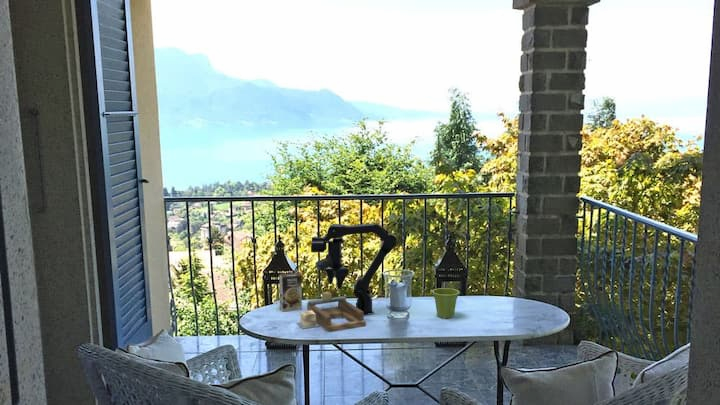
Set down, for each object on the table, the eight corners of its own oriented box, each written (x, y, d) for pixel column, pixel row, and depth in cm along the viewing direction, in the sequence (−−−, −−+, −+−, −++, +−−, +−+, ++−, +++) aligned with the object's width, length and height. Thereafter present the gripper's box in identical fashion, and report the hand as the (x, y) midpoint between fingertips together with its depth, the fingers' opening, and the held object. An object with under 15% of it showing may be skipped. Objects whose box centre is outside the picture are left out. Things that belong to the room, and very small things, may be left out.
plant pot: (457, 312, 266) (458, 288, 265) (459, 320, 254) (460, 295, 253) (431, 311, 267) (431, 287, 266) (432, 319, 256) (432, 294, 254)
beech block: (311, 321, 252) (311, 310, 251) (315, 325, 248) (315, 313, 247) (300, 323, 250) (300, 311, 249) (304, 326, 245) (304, 315, 245)
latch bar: (343, 298, 268) (343, 289, 267) (346, 300, 265) (346, 291, 264) (308, 303, 260) (308, 294, 260) (310, 305, 258) (310, 296, 257)
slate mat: (313, 321, 254) (313, 320, 254) (319, 326, 247) (319, 325, 247) (296, 323, 251) (296, 322, 251) (302, 329, 244) (302, 328, 244)
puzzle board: (342, 309, 270) (342, 298, 269) (365, 325, 248) (365, 313, 247) (307, 315, 262) (307, 303, 262) (328, 331, 240) (328, 318, 240)
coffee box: (282, 311, 267) (282, 277, 265) (279, 308, 273) (278, 273, 271) (302, 309, 270) (301, 275, 268) (298, 305, 276) (297, 272, 274)
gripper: (309, 250, 267) (310, 283, 269) (325, 258, 251) (325, 294, 253) (332, 248, 272) (332, 281, 274) (349, 255, 256) (349, 290, 257)
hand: (334, 286), depth 265 cm, fingers open, 9 cm apart
